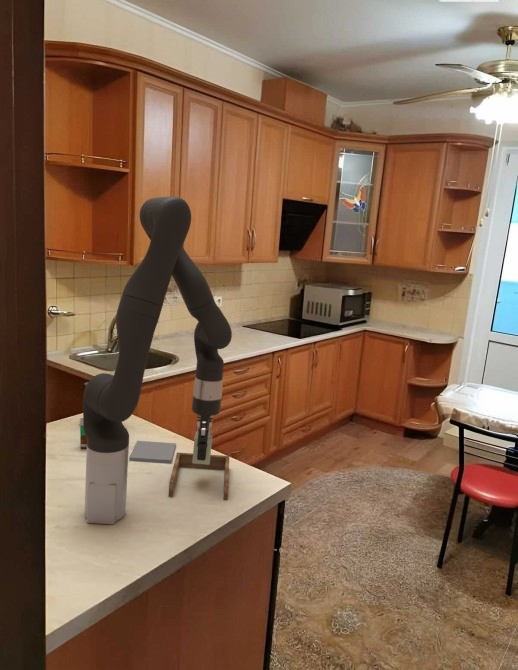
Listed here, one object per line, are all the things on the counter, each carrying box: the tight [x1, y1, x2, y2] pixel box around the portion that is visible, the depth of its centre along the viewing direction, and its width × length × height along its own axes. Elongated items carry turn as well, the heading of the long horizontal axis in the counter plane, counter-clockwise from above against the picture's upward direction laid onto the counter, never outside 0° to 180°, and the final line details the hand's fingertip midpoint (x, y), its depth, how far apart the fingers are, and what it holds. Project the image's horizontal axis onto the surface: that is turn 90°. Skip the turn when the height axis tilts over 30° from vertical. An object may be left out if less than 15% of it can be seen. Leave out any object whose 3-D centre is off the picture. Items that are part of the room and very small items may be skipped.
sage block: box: [192, 431, 213, 465], centre depth 137 cm, size 4×4×7 cm
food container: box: [79, 417, 87, 450], centre depth 156 cm, size 12×6×10 cm, turn 179°
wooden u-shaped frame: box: [167, 451, 230, 501], centre depth 139 cm, size 18×15×4 cm
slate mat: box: [128, 440, 177, 464], centre depth 154 cm, size 12×12×1 cm
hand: (201, 455), depth 138 cm, fingers closed on sage block, 4 cm apart
